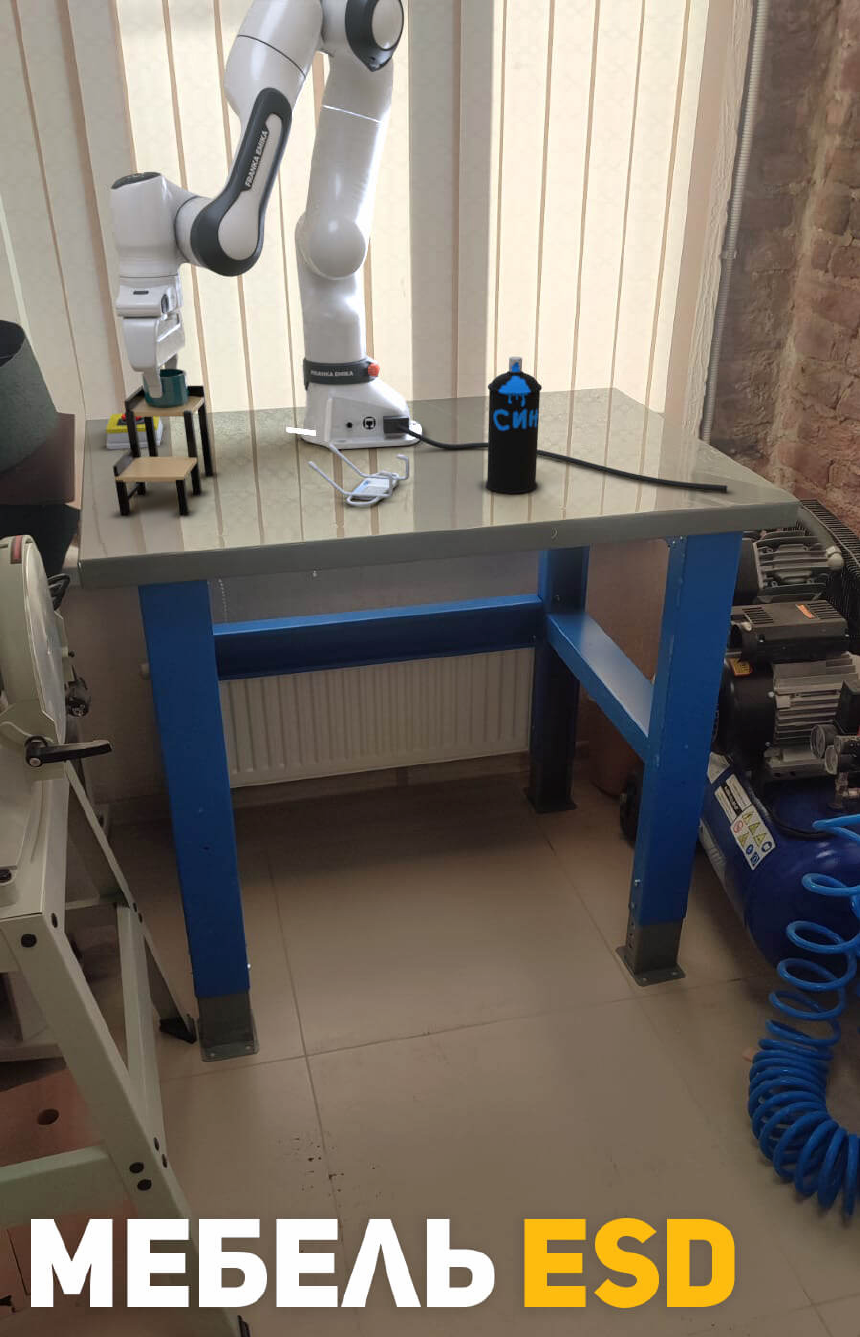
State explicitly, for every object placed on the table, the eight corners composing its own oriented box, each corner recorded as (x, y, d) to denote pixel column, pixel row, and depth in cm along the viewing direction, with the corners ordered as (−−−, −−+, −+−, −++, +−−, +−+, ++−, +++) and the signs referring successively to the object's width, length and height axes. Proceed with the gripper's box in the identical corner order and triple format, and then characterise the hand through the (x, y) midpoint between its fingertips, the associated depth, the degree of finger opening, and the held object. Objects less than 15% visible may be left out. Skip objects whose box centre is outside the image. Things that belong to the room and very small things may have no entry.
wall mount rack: (386, 511, 150) (385, 473, 147) (302, 503, 153) (299, 466, 150) (415, 479, 163) (415, 444, 160) (337, 473, 166) (335, 438, 164)
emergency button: (102, 425, 177) (110, 405, 190) (106, 449, 179) (113, 427, 192) (156, 422, 179) (160, 402, 192) (159, 446, 181) (163, 425, 194)
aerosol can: (482, 479, 163) (484, 353, 153) (532, 477, 164) (537, 351, 154) (489, 495, 156) (492, 364, 146) (541, 493, 156) (547, 363, 147)
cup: (193, 398, 159) (189, 368, 156) (184, 408, 153) (180, 378, 151) (151, 398, 159) (147, 368, 156) (141, 408, 153) (136, 378, 151)
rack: (213, 474, 166) (203, 385, 159) (187, 515, 149) (175, 417, 142) (154, 474, 166) (141, 385, 159) (120, 516, 149) (104, 418, 142)
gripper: (148, 285, 157) (160, 374, 164) (111, 306, 139) (126, 405, 146) (188, 285, 157) (199, 374, 164) (156, 305, 139) (169, 405, 146)
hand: (164, 389), depth 155 cm, fingers open, 8 cm apart
